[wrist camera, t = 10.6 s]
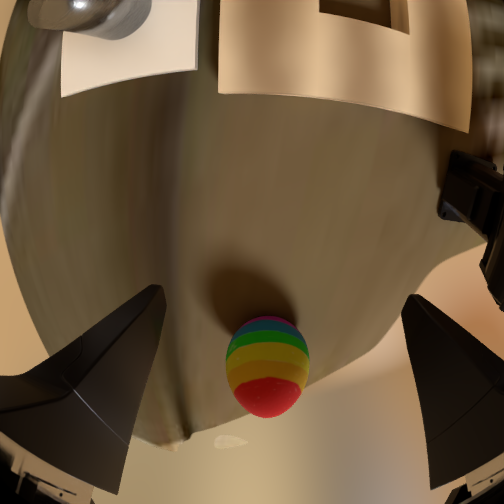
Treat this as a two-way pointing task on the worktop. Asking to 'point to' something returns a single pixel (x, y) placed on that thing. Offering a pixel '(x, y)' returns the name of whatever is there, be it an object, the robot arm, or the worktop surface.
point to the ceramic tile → (134, 49)
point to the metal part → (90, 16)
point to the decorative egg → (267, 365)
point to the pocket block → (352, 56)
